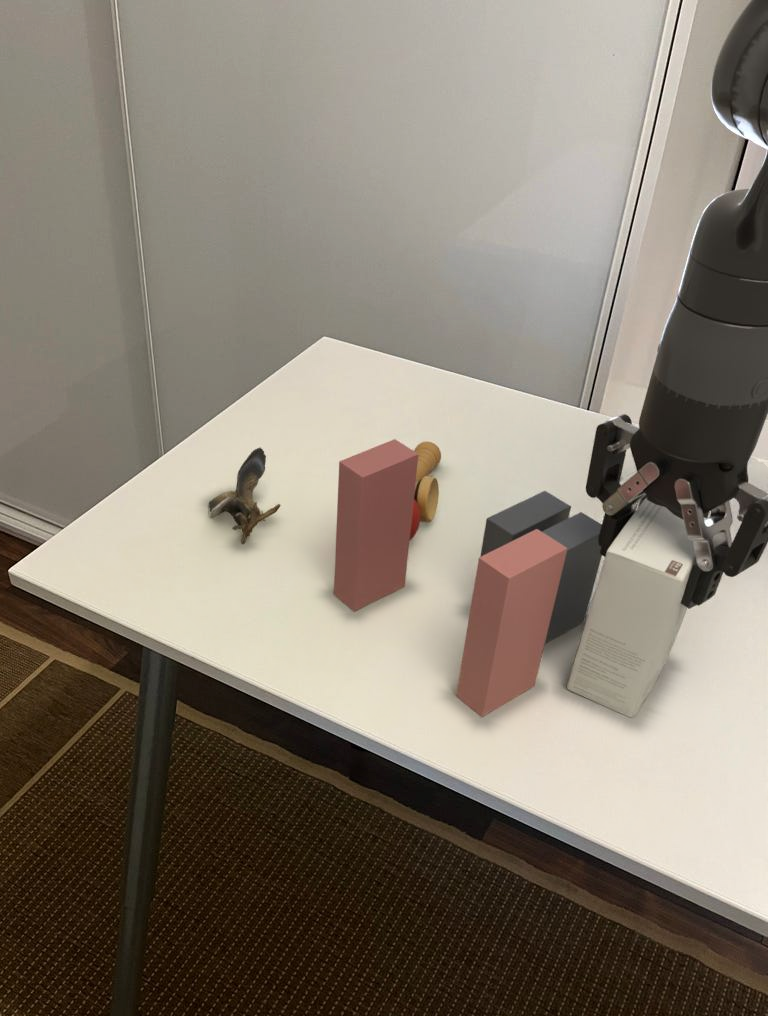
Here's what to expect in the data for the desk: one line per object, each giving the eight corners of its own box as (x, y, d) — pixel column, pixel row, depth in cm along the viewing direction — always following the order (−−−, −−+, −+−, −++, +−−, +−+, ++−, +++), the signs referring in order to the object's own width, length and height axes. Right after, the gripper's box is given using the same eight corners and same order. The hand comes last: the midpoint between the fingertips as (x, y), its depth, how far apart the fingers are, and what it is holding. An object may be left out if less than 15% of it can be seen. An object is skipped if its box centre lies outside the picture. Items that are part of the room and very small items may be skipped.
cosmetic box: (602, 637, 84) (643, 491, 74) (671, 664, 81) (723, 517, 71) (563, 693, 79) (602, 545, 69) (635, 724, 76) (686, 575, 66)
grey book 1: (525, 581, 90) (544, 490, 83) (550, 598, 88) (571, 506, 81) (470, 610, 87) (486, 517, 80) (495, 628, 85) (512, 535, 78)
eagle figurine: (301, 528, 94) (282, 465, 99) (263, 487, 88) (244, 423, 94) (236, 566, 96) (220, 502, 101) (195, 528, 91) (181, 463, 96)
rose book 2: (508, 665, 81) (537, 528, 72) (534, 686, 79) (567, 548, 70) (455, 695, 79) (478, 557, 69) (481, 717, 77) (509, 578, 67)
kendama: (383, 470, 106) (331, 542, 92) (399, 417, 102) (349, 484, 88) (449, 495, 105) (407, 572, 91) (468, 443, 101) (428, 515, 87)
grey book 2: (558, 604, 87) (581, 511, 81) (584, 621, 85) (609, 528, 79) (503, 634, 84) (521, 541, 77) (528, 653, 82) (550, 559, 76)
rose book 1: (383, 570, 91) (395, 438, 81) (404, 586, 89) (418, 453, 80) (333, 594, 88) (338, 461, 79) (354, 611, 86) (362, 477, 77)
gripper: (854, 399, 59) (764, 607, 70) (660, 318, 68) (607, 515, 79) (783, 436, 56) (700, 649, 67) (588, 346, 64) (544, 548, 75)
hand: (650, 576), depth 73 cm, fingers closed on cosmetic box, 7 cm apart
